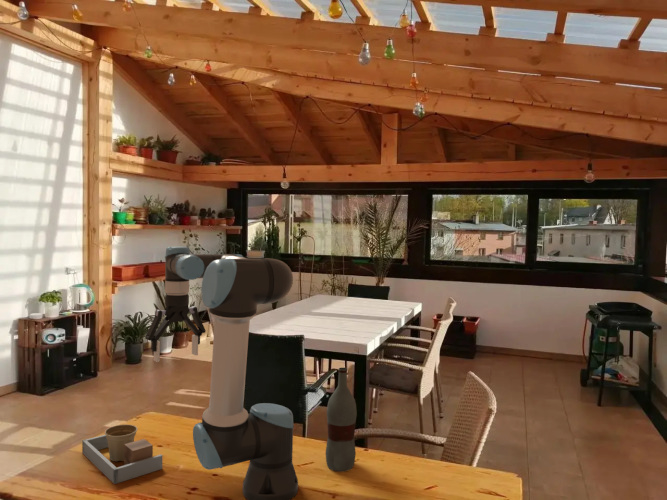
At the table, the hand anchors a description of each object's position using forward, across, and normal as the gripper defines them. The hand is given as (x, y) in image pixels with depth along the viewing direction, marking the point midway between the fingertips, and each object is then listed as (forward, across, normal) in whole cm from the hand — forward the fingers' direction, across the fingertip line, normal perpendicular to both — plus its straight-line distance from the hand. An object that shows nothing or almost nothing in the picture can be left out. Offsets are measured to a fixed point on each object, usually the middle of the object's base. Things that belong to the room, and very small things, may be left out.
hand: (176, 357), depth 169 cm
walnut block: (+28, +16, +9) cm, 34 cm away
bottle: (+29, -29, +48) cm, 63 cm away
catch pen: (+28, +18, +1) cm, 34 cm away
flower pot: (+29, +18, -1) cm, 34 cm away
